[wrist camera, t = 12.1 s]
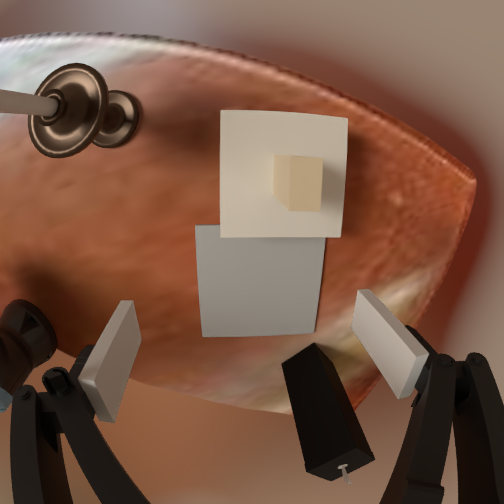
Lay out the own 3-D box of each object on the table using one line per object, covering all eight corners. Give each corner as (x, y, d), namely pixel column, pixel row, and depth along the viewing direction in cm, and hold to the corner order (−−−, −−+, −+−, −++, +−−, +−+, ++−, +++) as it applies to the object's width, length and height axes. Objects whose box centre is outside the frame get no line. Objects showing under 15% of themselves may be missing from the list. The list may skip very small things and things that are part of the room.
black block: (301, 382, 55) (335, 497, 29) (280, 363, 53) (310, 490, 27) (333, 362, 54) (382, 475, 28) (313, 341, 52) (364, 466, 25)
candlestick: (141, 77, 34) (-26, -29, 1) (148, 144, 38) (-61, 157, 5) (79, 97, 34) (-107, 69, 1) (85, 160, 38) (-113, 214, 5)
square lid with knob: (220, 235, 37) (217, 268, 27) (220, 111, 32) (216, 93, 22) (338, 235, 39) (372, 265, 28) (345, 118, 33) (386, 110, 23)
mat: (202, 334, 49) (202, 336, 49) (195, 224, 43) (195, 225, 42) (312, 331, 51) (313, 333, 50) (325, 224, 44) (326, 225, 44)
